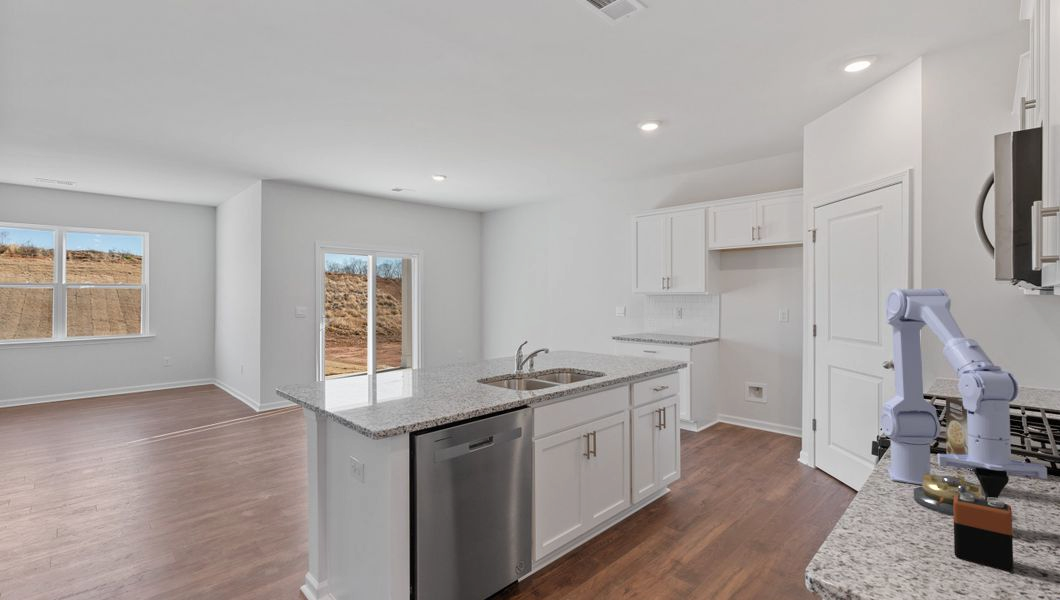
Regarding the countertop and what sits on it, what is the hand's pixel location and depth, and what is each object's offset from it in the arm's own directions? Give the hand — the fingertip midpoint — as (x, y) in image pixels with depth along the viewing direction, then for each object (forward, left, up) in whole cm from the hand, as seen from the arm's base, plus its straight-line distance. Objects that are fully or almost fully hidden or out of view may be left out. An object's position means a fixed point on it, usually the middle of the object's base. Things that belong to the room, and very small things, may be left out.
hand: (990, 510), depth 90 cm
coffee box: (-40, +5, -3) cm, 41 cm away
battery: (+16, -4, -3) cm, 17 cm away
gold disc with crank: (-4, -3, -1) cm, 5 cm away
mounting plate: (-8, -4, -3) cm, 10 cm away
